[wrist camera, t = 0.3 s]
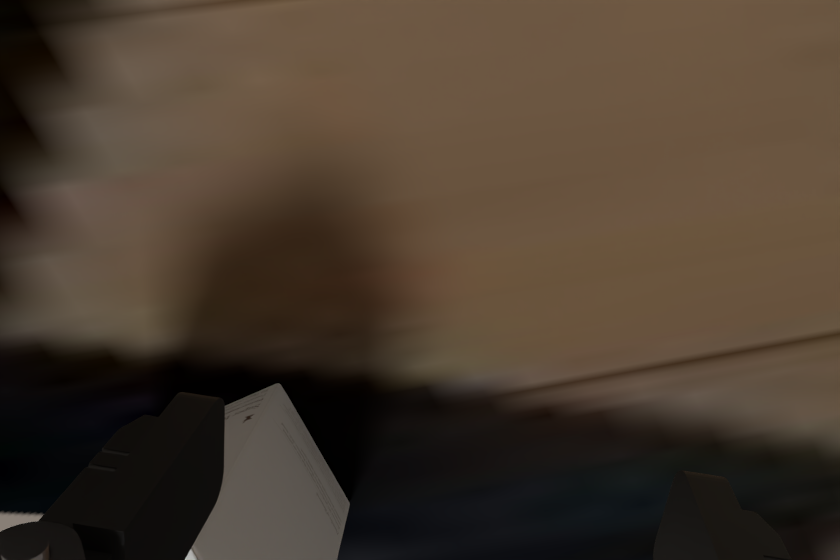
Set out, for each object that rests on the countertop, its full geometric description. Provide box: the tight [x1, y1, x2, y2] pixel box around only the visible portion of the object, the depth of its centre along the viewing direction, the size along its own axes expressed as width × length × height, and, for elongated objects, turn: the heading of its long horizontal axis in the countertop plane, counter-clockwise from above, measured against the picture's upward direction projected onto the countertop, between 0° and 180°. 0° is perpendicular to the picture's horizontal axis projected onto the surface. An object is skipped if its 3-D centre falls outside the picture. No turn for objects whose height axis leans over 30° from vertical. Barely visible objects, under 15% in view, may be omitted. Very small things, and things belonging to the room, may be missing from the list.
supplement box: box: [185, 383, 350, 560], centre depth 36 cm, size 9×9×15 cm
